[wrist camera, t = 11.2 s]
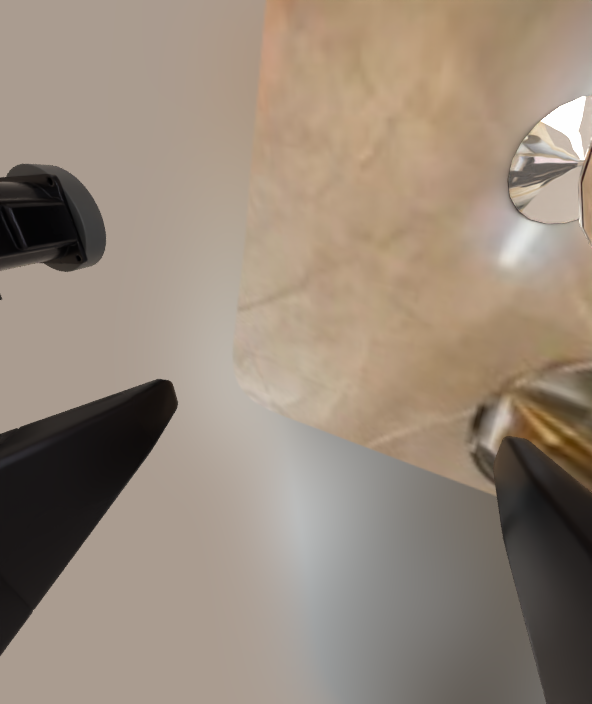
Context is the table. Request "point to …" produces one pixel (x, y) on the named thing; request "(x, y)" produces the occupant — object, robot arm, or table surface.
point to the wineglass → (556, 168)
